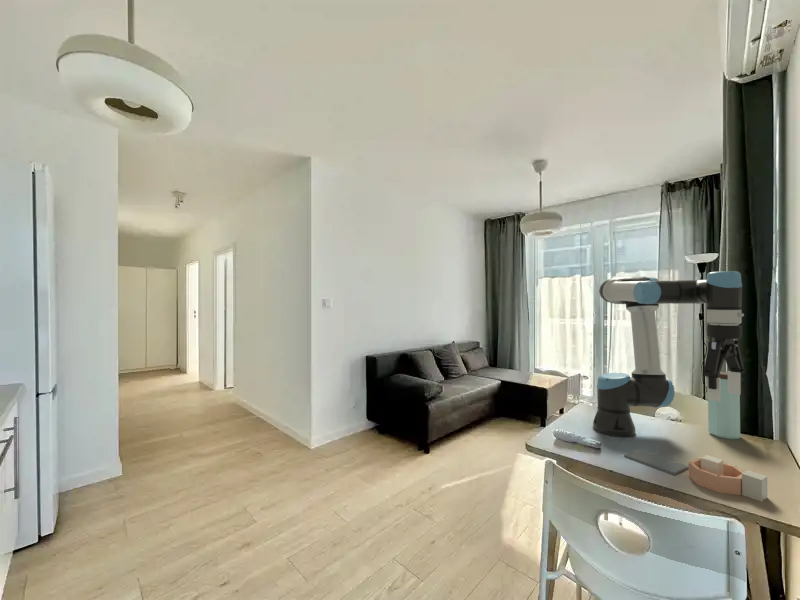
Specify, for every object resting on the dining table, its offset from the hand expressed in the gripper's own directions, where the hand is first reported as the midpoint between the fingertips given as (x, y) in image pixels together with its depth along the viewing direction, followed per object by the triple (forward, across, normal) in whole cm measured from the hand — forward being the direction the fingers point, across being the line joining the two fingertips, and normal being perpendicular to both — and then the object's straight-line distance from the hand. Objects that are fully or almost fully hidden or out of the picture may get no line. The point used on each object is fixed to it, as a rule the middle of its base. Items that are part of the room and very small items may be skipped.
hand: (724, 396), depth 103 cm
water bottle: (+26, +48, +16) cm, 57 cm away
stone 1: (+25, 0, +3) cm, 25 cm away
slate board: (+26, -1, +18) cm, 32 cm away
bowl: (+26, 0, +2) cm, 26 cm away
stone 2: (+20, 0, -6) cm, 21 cm away
